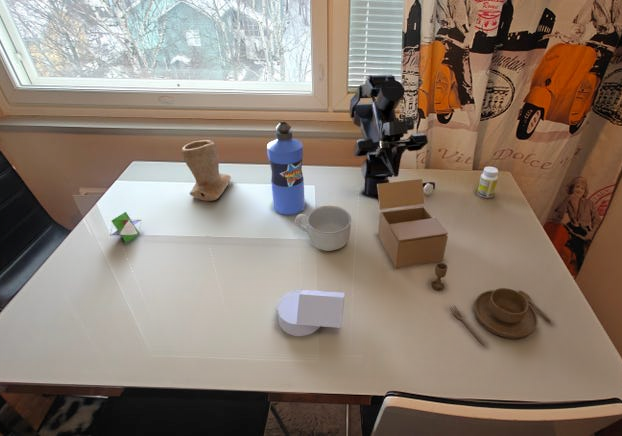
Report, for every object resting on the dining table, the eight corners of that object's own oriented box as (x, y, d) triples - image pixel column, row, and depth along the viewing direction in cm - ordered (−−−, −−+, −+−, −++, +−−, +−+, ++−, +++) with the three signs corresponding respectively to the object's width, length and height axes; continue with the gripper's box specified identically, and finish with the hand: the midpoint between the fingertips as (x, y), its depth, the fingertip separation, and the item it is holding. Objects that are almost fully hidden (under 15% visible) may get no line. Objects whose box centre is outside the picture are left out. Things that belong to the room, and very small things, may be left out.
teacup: (356, 237, 100) (358, 211, 96) (339, 262, 92) (339, 235, 88) (309, 224, 105) (308, 198, 100) (289, 246, 97) (286, 220, 92)
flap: (380, 209, 96) (379, 209, 96) (424, 203, 98) (424, 203, 99) (377, 184, 96) (376, 184, 96) (422, 178, 98) (421, 179, 98)
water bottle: (311, 208, 111) (308, 125, 97) (282, 218, 107) (274, 133, 93) (295, 194, 118) (290, 114, 103) (267, 203, 113) (258, 121, 99)
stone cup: (200, 177, 126) (190, 133, 118) (235, 179, 125) (228, 135, 117) (179, 201, 114) (167, 155, 106) (218, 204, 113) (209, 157, 104)
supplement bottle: (491, 190, 120) (497, 166, 115) (494, 198, 116) (501, 173, 111) (475, 189, 120) (481, 165, 116) (478, 197, 117) (484, 172, 112)
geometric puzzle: (100, 232, 98) (105, 216, 92) (123, 218, 103) (129, 202, 97) (122, 252, 98) (128, 237, 93) (143, 237, 103) (150, 222, 98)
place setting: (489, 355, 71) (496, 334, 68) (426, 284, 86) (430, 264, 83) (558, 325, 77) (568, 304, 73) (488, 263, 92) (494, 244, 88)
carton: (377, 235, 101) (380, 209, 96) (420, 229, 103) (424, 203, 98) (395, 268, 90) (398, 240, 86) (442, 260, 93) (448, 233, 88)
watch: (419, 198, 116) (421, 188, 114) (409, 191, 119) (410, 181, 117) (438, 191, 119) (440, 181, 117) (427, 185, 123) (429, 175, 121)
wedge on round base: (344, 304, 81) (283, 299, 82) (345, 280, 77) (281, 276, 78) (341, 339, 74) (274, 334, 75) (341, 315, 70) (271, 310, 71)
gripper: (357, 107, 92) (369, 170, 89) (430, 102, 96) (443, 162, 93) (348, 127, 103) (358, 183, 100) (414, 121, 106) (425, 176, 104)
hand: (396, 176), depth 99 cm, fingers closed
